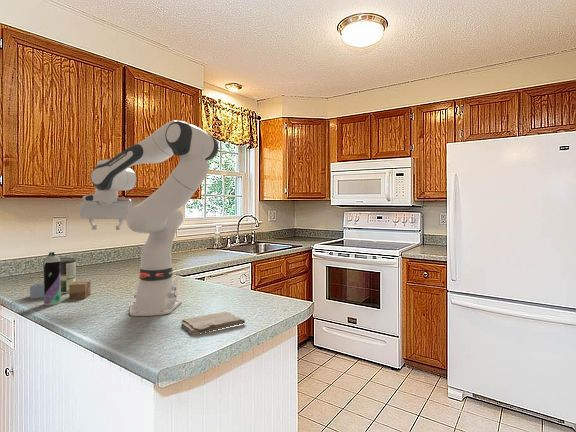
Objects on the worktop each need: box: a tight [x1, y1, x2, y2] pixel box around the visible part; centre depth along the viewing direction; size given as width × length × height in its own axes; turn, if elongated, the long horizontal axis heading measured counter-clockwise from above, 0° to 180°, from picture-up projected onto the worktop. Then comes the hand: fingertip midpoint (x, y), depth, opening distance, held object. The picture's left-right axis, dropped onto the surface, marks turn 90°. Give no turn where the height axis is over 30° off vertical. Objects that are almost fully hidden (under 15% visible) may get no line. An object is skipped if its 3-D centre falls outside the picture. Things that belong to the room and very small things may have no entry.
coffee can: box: [59, 257, 77, 295], centre depth 160 cm, size 10×10×14 cm
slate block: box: [29, 282, 44, 299], centre depth 151 cm, size 5×5×5 cm
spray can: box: [42, 251, 62, 306], centre depth 141 cm, size 6×6×20 cm
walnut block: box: [68, 280, 92, 300], centre depth 152 cm, size 6×6×6 cm
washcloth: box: [180, 311, 246, 336], centre depth 118 cm, size 12×18×3 cm, turn 127°
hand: (106, 229), depth 157 cm, fingers open, 8 cm apart
